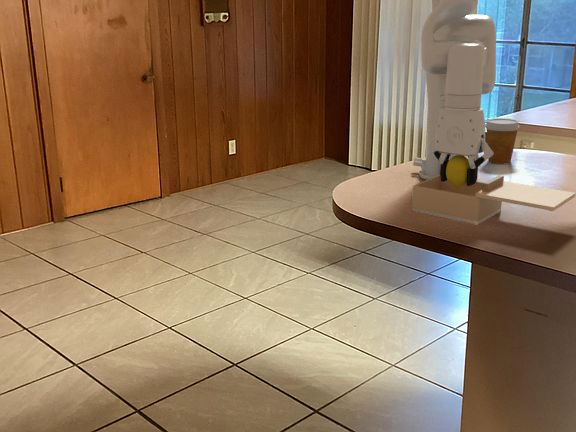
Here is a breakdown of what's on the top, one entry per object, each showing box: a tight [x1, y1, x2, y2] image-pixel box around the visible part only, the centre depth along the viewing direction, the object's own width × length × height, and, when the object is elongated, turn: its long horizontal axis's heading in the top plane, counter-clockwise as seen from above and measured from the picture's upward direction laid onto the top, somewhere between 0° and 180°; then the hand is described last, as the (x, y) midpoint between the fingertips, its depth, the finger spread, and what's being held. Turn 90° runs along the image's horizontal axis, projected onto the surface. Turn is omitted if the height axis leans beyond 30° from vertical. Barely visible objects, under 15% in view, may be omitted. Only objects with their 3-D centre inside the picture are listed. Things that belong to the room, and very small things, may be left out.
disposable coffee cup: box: [485, 118, 521, 165], centre depth 191 cm, size 10×10×12 cm
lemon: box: [446, 155, 470, 188], centre depth 147 cm, size 6×6×8 cm
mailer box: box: [411, 175, 503, 226], centre depth 149 cm, size 16×12×6 cm
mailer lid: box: [475, 174, 576, 212], centre depth 138 cm, size 16×12×3 cm
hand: (458, 181), depth 148 cm, fingers closed on lemon, 5 cm apart
